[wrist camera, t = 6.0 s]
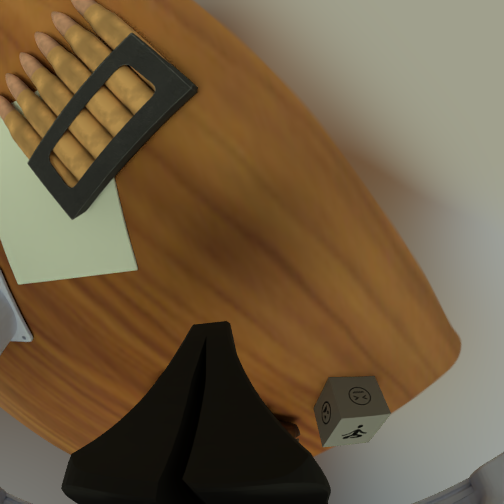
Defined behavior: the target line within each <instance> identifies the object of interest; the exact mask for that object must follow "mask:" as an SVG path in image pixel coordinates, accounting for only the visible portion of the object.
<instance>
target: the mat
mask: <svg viewBox="0 0 504 504" xmlns="http://www.w3.org/2000/svg"><path fill="white" fill-rule="evenodd" d="M89 70H90V71H91V69H89ZM91 72H92V71H91ZM92 73H93V72H92ZM61 81H62V80H61ZM62 82H63V81H62ZM63 83H64V82H63ZM34 93H35V94H36V95H37V96H39V97H40V98H41V96H40V94H39V92H38V90H37V91H35V92H34ZM72 93H73V92H72ZM41 99H42V98H41ZM11 104H12V105H13V106H14V108H15V109H16V110H17V111H18V112H19V113H20V114H21V115H22V116H23V117H25V116H24V114H23V111H22V109H21V107H20V106H19V104H18V103H17V101H15V102H13V103H11ZM25 118H26V117H25ZM28 161H29V159H28V158H27V156H26V155H25V154H24V153H23V151H22V150H21V149H20V148H19V146H18V145H17V144H16V142H15V141H14V140H13V138H12V136H11V134H10V132H9V129H8V128H7V126H6V125H5V123H4V121H3V120H2V118H1V117H0V239H1V242H2V245H3V247H4V250H5V253H6V256H7V258H8V261H9V263H10V266H11V268H12V271H13V273H14V276H15V278H16V280H17V283H18V285H19V284H27V283H36V282H44V281H52V280H60V279H69V278H77V277H85V276H93V275H101V274H109V273H118V272H126V271H134V270H138V266H137V263H136V259H135V256H134V253H133V249H132V246H131V242H130V238H129V235H128V231H127V227H126V223H125V220H124V216H123V212H122V208H121V203H120V199H119V195H118V191H117V186H116V182H115V177H114V178H113V179H112V180H111V181H110V182H109V184H108V185H107V186H106V187H105V188H104V190H103V191H102V192H101V193H100V194H99V196H98V197H97V198H96V199H95V201H94V202H93V203H92V204H91V206H90V207H89V208H88V210H87V211H86V212H84V213H83V214H81V215H80V216H78V217H77V218H75V219H73V220H71V218H70V217H69V216H68V215H67V214H66V212H65V211H64V210H63V209H62V207H61V206H60V205H59V204H58V202H57V201H56V200H55V199H54V198H53V196H52V195H51V194H50V193H49V191H48V190H47V189H46V187H45V186H44V185H43V184H42V182H41V181H40V180H39V178H38V177H37V176H36V175H35V173H34V172H33V171H32V169H31V168H30V167H29V165H28V164H27V163H28Z"/></svg>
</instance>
